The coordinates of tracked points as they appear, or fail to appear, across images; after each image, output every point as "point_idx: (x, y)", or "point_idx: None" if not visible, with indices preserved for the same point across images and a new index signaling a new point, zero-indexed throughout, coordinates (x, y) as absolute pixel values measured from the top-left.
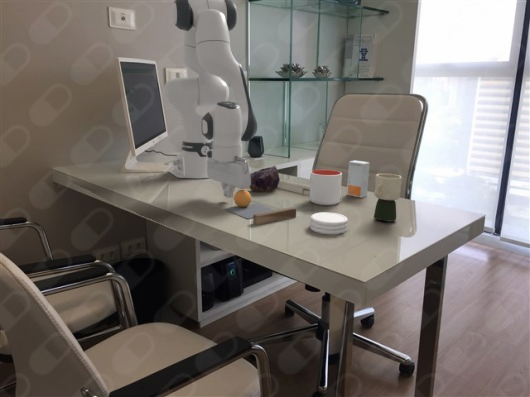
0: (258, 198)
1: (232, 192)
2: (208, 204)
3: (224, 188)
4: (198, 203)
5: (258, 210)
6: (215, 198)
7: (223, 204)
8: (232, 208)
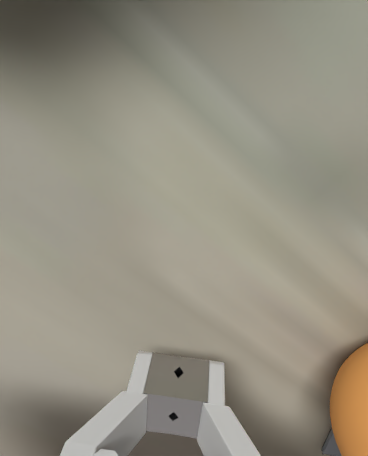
0: (301, 10)
1: (223, 406)
2: (154, 434)
3: (125, 453)
4: None
5: None
6: (37, 332)
7: None
8: None
